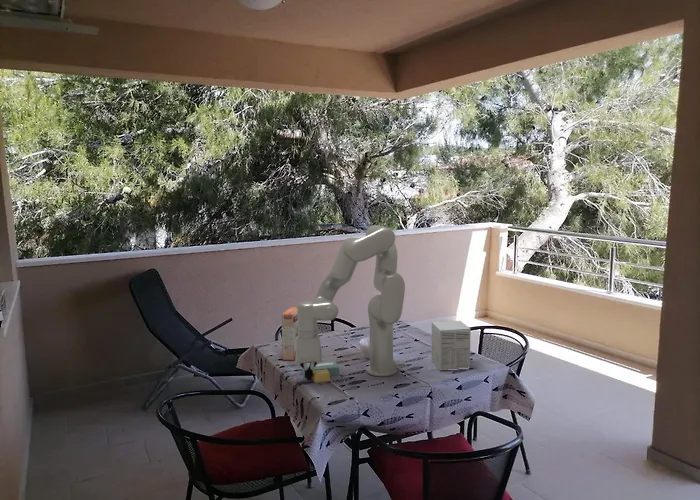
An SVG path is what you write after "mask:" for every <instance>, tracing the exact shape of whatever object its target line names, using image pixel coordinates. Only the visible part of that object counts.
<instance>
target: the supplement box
mask: <svg viewBox="0 0 700 500" xmlns="http://www.w3.org/2000/svg"><path fill="white" fill-rule="evenodd" d="M471 332H472V331H471V327H469V326H468V325H466V324H465V323H464V322H462V321H461V320H450V321H449V320H448V321H432V322H431V362H432V364H433V363H434V364H435V365H434V364H433V365H434V367H436V369H439V370H448V369H459V368H468V367H471ZM439 370H438V371H439Z"/></svg>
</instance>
